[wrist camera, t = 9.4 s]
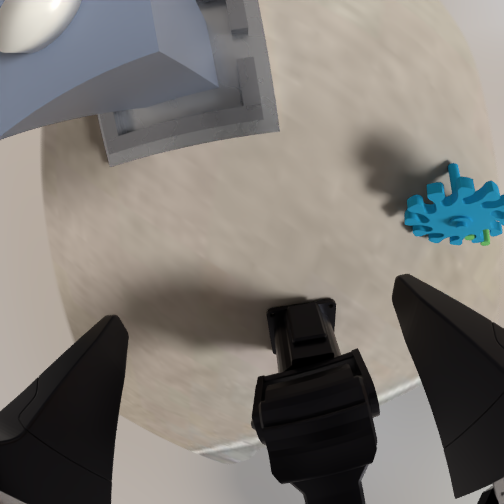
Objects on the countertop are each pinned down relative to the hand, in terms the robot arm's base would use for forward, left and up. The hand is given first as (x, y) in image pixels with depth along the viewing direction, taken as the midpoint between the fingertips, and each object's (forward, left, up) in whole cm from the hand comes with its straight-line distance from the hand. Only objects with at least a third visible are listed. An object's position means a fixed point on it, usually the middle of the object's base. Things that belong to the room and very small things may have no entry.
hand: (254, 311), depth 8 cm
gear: (-3, -17, -13) cm, 22 cm away
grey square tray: (+9, +3, -13) cm, 17 cm away
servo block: (+9, +3, -12) cm, 16 cm away
